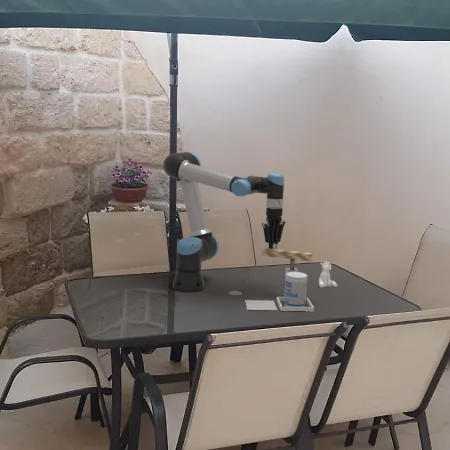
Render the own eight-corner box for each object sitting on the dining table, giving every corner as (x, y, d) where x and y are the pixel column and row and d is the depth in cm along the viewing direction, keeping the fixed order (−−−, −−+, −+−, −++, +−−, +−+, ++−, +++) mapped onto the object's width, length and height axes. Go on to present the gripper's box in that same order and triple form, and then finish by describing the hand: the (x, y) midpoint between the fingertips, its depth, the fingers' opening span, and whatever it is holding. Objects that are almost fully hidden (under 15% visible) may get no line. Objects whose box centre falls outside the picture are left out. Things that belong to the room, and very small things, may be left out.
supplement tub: (281, 308, 262) (282, 275, 260) (286, 301, 271) (288, 270, 268) (302, 311, 259) (304, 278, 256) (307, 304, 268) (309, 273, 265)
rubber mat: (247, 310, 258) (247, 309, 258) (244, 301, 270) (244, 300, 270) (277, 310, 258) (277, 310, 258) (273, 301, 271) (273, 300, 271)
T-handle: (311, 270, 272) (312, 253, 271) (309, 271, 270) (310, 254, 268) (263, 264, 280) (264, 247, 278) (261, 265, 277) (262, 249, 276)
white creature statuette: (320, 288, 294) (321, 264, 292) (312, 283, 302) (314, 260, 300) (337, 287, 297) (339, 263, 295) (329, 282, 305) (331, 259, 303)
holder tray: (280, 311, 258) (281, 307, 257) (276, 301, 272) (276, 296, 271) (313, 312, 259) (313, 307, 258) (307, 301, 273) (307, 297, 272)
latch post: (285, 299, 274) (287, 270, 271) (284, 296, 279) (285, 267, 276) (296, 300, 274) (298, 270, 272) (294, 296, 279) (296, 267, 276)
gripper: (269, 209, 269) (266, 260, 273) (290, 207, 277) (287, 257, 281) (258, 207, 275) (256, 257, 279) (279, 205, 283) (277, 253, 287)
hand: (272, 257), depth 280 cm, fingers closed
